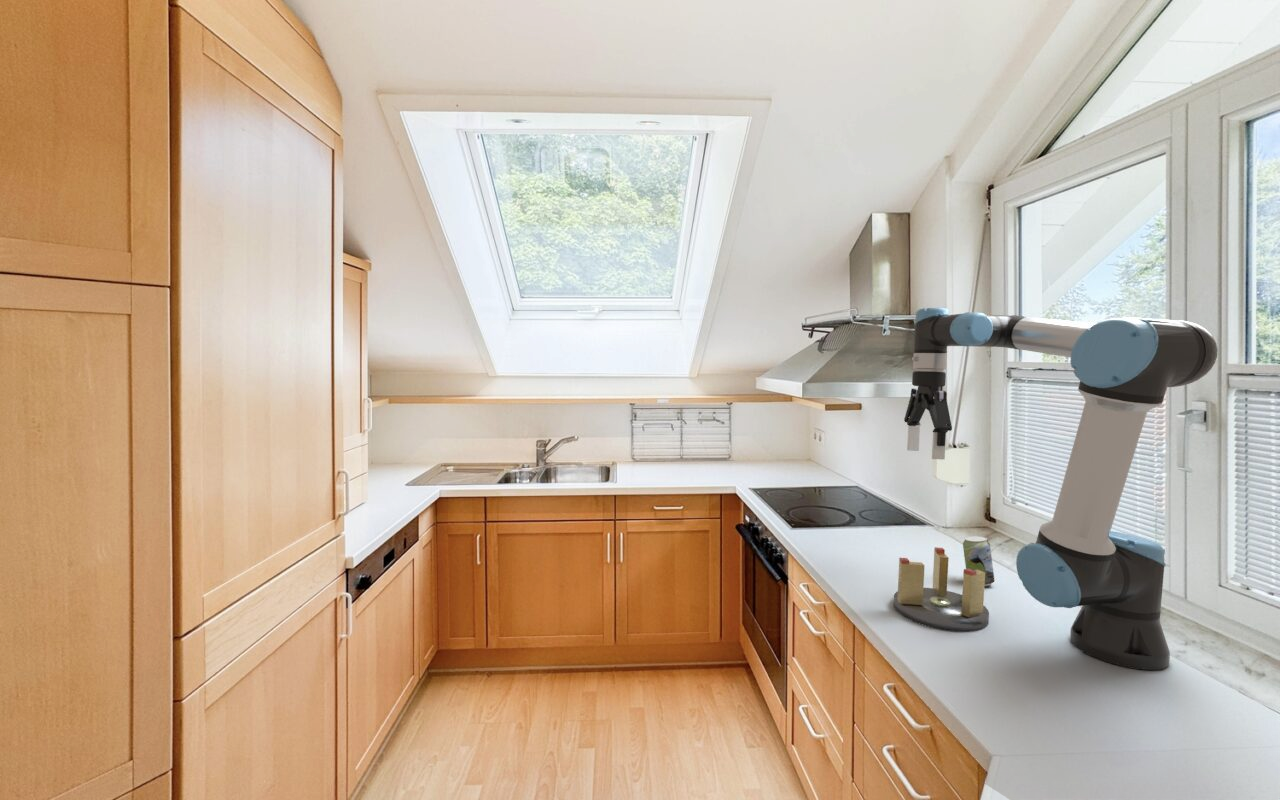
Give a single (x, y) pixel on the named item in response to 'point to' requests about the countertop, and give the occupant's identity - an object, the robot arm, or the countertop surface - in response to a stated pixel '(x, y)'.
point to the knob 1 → (910, 582)
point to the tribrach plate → (942, 612)
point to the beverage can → (979, 556)
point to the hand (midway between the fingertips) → (924, 454)
